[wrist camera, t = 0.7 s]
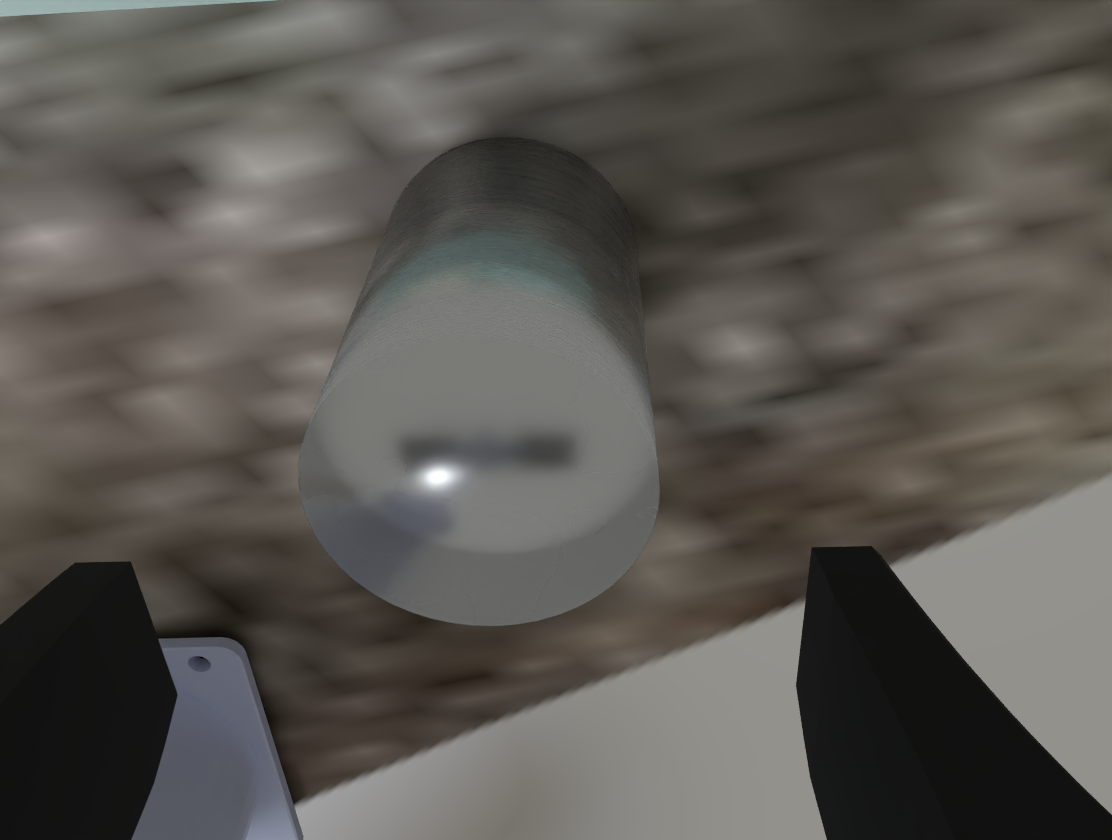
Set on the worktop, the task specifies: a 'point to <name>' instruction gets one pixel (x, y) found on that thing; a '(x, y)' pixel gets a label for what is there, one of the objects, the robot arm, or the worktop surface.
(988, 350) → the worktop surface
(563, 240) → the tin can
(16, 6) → the tote
